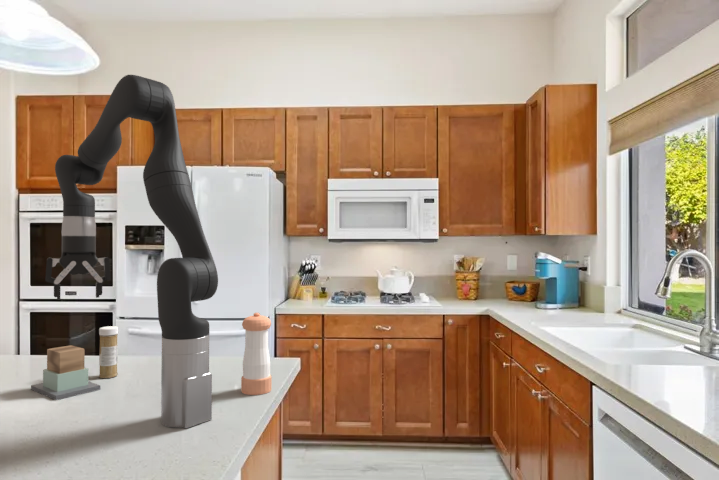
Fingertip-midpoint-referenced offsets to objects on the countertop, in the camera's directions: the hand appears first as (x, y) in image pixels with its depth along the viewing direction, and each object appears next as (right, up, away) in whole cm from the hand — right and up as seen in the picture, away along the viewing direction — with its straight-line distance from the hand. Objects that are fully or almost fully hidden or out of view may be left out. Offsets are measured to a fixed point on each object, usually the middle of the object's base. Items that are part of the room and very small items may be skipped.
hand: (78, 298), depth 122 cm
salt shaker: (+46, -23, -4) cm, 52 cm away
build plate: (-1, -22, -3) cm, 22 cm away
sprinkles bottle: (+3, -23, +8) cm, 24 cm away
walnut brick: (-1, -17, -3) cm, 18 cm away
